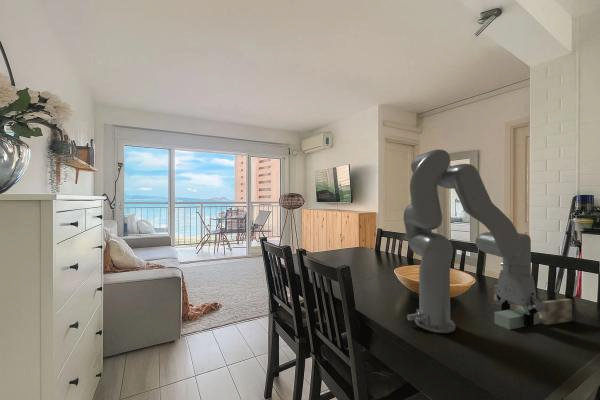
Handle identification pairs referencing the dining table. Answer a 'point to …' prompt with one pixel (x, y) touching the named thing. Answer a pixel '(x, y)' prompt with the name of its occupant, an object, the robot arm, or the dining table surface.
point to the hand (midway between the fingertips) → (516, 319)
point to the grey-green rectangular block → (512, 318)
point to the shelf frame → (548, 310)
